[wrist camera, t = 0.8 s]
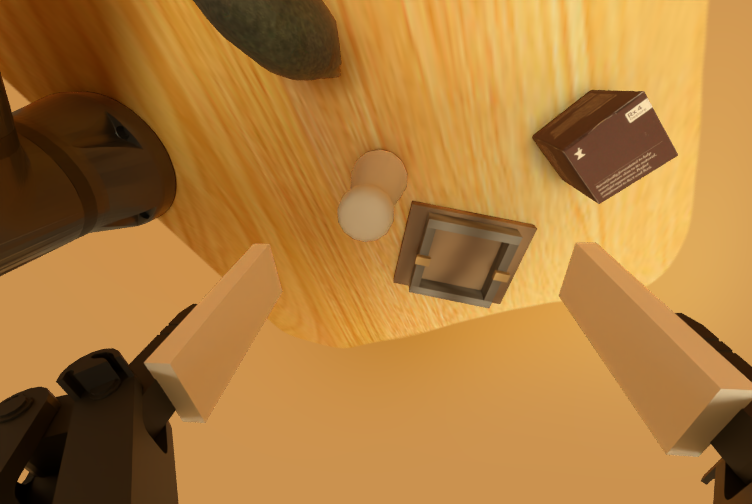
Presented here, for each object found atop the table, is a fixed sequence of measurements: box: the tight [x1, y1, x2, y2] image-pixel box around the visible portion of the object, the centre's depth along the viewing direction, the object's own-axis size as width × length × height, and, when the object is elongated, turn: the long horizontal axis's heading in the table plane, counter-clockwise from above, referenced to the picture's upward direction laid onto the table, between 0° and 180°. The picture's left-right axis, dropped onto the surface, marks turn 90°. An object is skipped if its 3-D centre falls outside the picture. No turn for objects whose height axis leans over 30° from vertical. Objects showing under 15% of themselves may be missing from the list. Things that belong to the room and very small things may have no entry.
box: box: [533, 90, 678, 204], centre depth 26 cm, size 6×6×7 cm
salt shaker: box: [337, 149, 407, 242], centre depth 27 cm, size 6×6×13 cm
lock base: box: [394, 201, 537, 308], centre depth 35 cm, size 14×11×4 cm
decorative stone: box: [193, 0, 341, 80], centre depth 21 cm, size 10×6×15 cm, turn 51°
